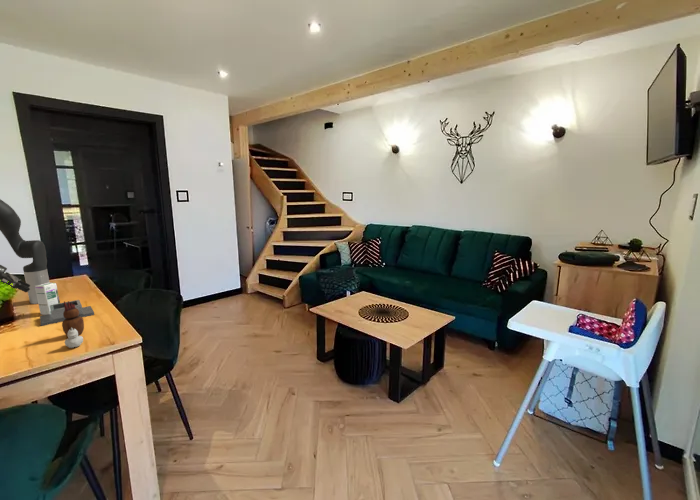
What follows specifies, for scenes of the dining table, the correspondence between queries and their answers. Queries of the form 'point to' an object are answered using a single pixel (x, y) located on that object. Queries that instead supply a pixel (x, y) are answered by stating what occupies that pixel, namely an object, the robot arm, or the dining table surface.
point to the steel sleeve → (59, 309)
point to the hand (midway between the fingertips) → (28, 288)
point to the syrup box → (47, 297)
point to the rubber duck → (73, 339)
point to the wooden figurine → (72, 319)
